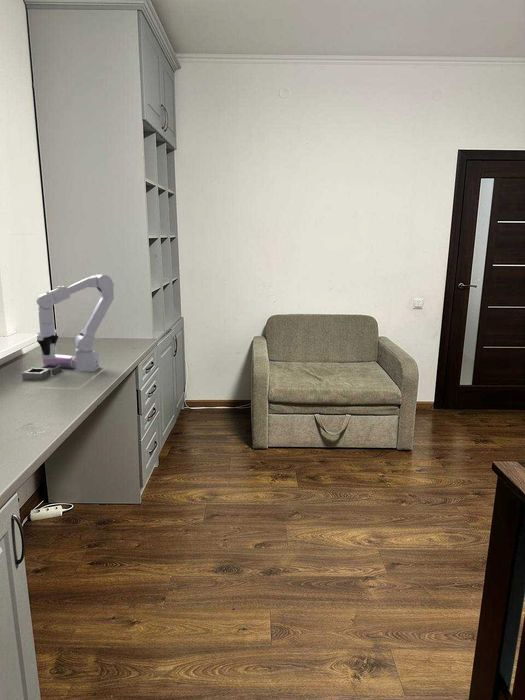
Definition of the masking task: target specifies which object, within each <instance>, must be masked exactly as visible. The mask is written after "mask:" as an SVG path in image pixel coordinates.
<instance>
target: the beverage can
mask: <svg viewBox="0 0 525 700" xmlns="http://www.w3.org/2000/svg"><path fill="white" fill-rule="evenodd" d="M55 355H56V357H54V358H53V359H42V360H41V361H42V364H43V366H45V365H48V368H55V367H57V366H59V365H61V369H73V370H74V369H76V357H75V355H69V354H68V355H66V354H57V353H55Z"/></svg>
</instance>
